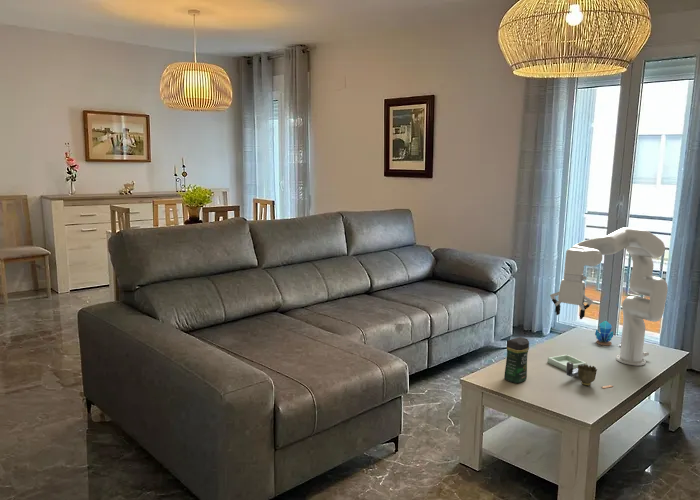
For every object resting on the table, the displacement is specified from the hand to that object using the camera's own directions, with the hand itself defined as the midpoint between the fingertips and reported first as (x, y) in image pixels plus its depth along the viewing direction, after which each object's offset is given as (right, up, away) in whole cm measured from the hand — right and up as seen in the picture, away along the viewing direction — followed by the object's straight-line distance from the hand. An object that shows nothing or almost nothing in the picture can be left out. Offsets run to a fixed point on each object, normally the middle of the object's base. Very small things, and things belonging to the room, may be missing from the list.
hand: (569, 316), depth 233 cm
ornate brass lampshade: (+5, -29, -4) cm, 30 cm away
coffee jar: (-23, -28, +1) cm, 36 cm away
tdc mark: (+14, -29, -6) cm, 33 cm away
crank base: (+8, -27, +7) cm, 29 cm away
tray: (+6, -25, +19) cm, 32 cm away
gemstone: (+38, -21, +51) cm, 67 cm away
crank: (+4, -25, +3) cm, 26 cm away
